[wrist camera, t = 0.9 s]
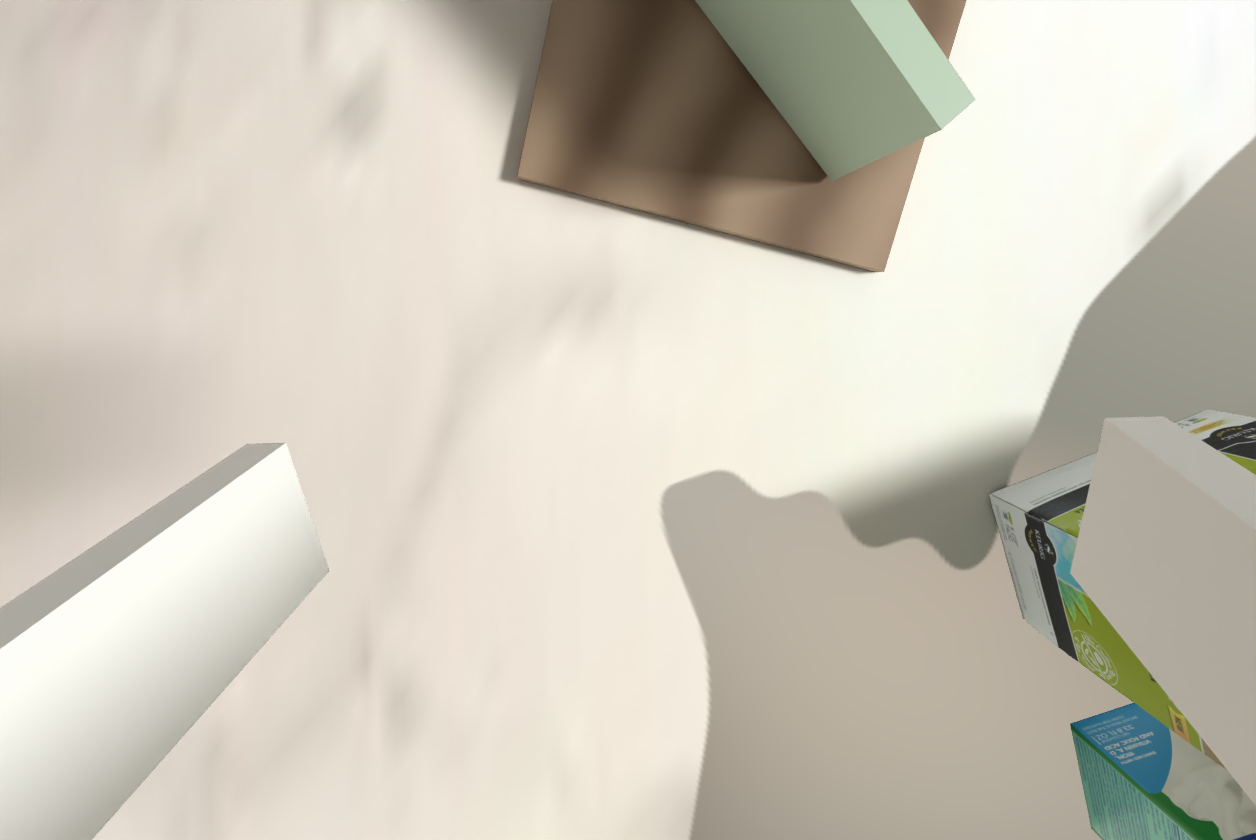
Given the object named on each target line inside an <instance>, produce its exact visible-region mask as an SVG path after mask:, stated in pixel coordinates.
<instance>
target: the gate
mask: <svg viewBox="0 0 1256 840" xmlns="http://www.w3.org/2000/svg"><path fill="white" fill-rule="evenodd" d="M695 1H696V3H697V4H698V5H699V7H700V8H701V9H702V10H703V12H704V13H705V14H706V16H707V17H708V18H709V20H710V21H711V22H712V24H713V25H714V26H715V28H716V29H717V30H718V32H719V33H720V34H721V36H722V37H723V38H724V40H725V41H726V42H727V44H728V45H729V46H730V47H731V49H732V50H733V51H734V53H735V54H736V55H737V57H738V58H739V59H740V61H741V62H742V63H743V65H744V66H745V67H746V69H747V70H748V71H749V73H750V74H751V75H752V77H753V78H754V79H755V80H756V82H757V83H758V84H759V86H760V87H761V88H762V90H763V91H764V92H765V94H766V95H767V96H768V98H769V99H770V100H771V102H772V103H773V104H774V106H775V107H776V108H777V110H778V111H779V112H780V114H781V115H782V116H783V117H784V119H785V120H786V121H787V123H788V124H789V125H790V127H791V128H792V129H793V131H794V132H795V133H796V135H797V136H798V137H799V139H800V140H801V141H802V143H803V144H804V145H805V147H806V148H807V149H808V150H809V152H810V153H811V154H812V156H813V157H814V158H815V160H816V161H817V162H818V164H819V165H820V166H821V168H822V169H823V170H824V172H825V173H826V174H827V176H828V177H829V178H830V180H831V181H833V180H836V179H838V178H840V177H842V176H844V175H846V174H848V173H850V172H852V171H855V170H857V169H859V168H861V167H863V166H865V165H867V164H869V163H872V162H874V161H876V160H878V159H880V158H882V157H884V156H886V155H889V154H891V153H893V152H895V151H897V150H899V149H901V148H903V147H905V146H908V145H910V144H912V143H914V142H916V141H918V140H920V139H922V138H925V137H927V136H929V135H931V134H933V133H935V132H937V131H939V130H941V129H943V128H944V127H945V126H946V125H947V124H948V123H949V122H951V121H952V120H953V119H954V118H955V117H956V116H957V115H958V114H960V113H961V112H962V111H963V110H964V109H965V108H966V107H968V106H969V105H970V104H971V103H972V102H973V101H974V100H975V98H974V97H973V95H972V94H971V92H970V91H969V89H968V88H967V87H966V85H965V84H964V82H963V81H962V79H961V78H960V76H959V75H958V73H957V72H956V71H955V69H954V68H953V66H952V65H951V63H950V62H949V60H948V59H947V57H946V56H945V54H944V53H943V52H942V50H941V49H940V47H939V46H938V44H937V43H936V41H935V40H934V38H933V37H932V36H931V34H930V33H929V31H928V30H927V28H926V27H925V25H924V24H923V22H922V21H921V20H920V18H919V17H918V15H917V14H916V12H915V11H914V9H913V8H912V6H911V5H910V3H909V2H908V1H907V0H695Z"/></svg>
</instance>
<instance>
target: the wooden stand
mask: <svg viewBox="0 0 1256 840" xmlns="http://www.w3.org/2000/svg"><path fill="white" fill-rule="evenodd" d="M907 1H908V2H909V3H910V5H911V6H912V8H913V9H914V11H915V12H916V14H917V15H918V17H919V18H920V20H921V21H922V22H923V24H924V25H925V27H926V28H927V30H928V31H929V33H930V34H931V36H932V37H933V38H934V40H935V41H936V43H937V44H938V46H939V47H940V49H941V50H942V52H943V53H944V54H945V56H946V57H947V59H949V56H950V53H951V49H952V46H953V43H954V39H955V36H956V33H957V29H958V26H959V23H960V20H961V16H962V13H963V10H964V6H965V3H966V0H907ZM923 142H924V138H922V139H920V140H918V141H916V142H914V143H912V144H910V145H908V146H905V147H903V148H901V149H899V150H897V151H895V152H893V153H891V154H889V155H886V156H884V157H882V158H880V159H878V160H876V161H874V162H872V163H869V164H867V165H865V166H863V167H861V168H859V169H857V170H855V171H852V172H850V173H848V174H846V175H844V176H842V177H840V178H838V179H836V180H833V181H831V180H830V178H829V177H828V176H827V174H826V173H825V172H824V170H823V169H822V168H821V166H820V165H819V164H818V162H817V161H816V160H815V158H814V157H813V156H812V154H811V153H810V152H809V150H808V149H807V148H806V147H805V145H804V144H803V143H802V141H801V140H800V139H799V137H798V136H797V135H796V133H795V132H794V131H793V129H792V128H791V127H790V125H789V124H788V123H787V121H786V120H785V119H784V117H783V116H782V115H781V114H780V112H779V111H778V110H777V108H776V107H775V106H774V104H773V103H772V102H771V100H770V99H769V98H768V96H767V95H766V94H765V92H764V91H763V90H762V88H761V87H760V86H759V84H758V83H757V82H756V80H755V79H754V78H753V77H752V75H751V74H750V73H749V71H748V70H747V69H746V67H745V66H744V65H743V63H742V62H741V61H740V59H739V58H738V57H737V55H736V54H735V53H734V51H733V50H732V49H731V47H730V46H729V45H728V44H727V42H726V41H725V40H724V38H723V37H722V36H721V34H720V33H719V32H718V30H717V29H716V28H715V26H714V25H713V24H712V22H711V21H710V20H709V18H708V17H707V16H706V14H705V13H704V12H703V10H702V9H701V8H700V7H699V5H698V4H697V3H696V1H695V0H553V2H552V7H551V12H550V17H549V22H548V27H547V32H546V37H545V42H544V47H543V52H542V57H541V62H540V67H539V72H538V77H537V82H536V87H535V92H534V97H533V102H532V107H531V112H530V116H529V121H528V126H527V131H526V136H525V141H524V146H523V151H522V156H521V161H520V166H519V171H518V177H519V179H521V180H525V181H529V182H533V183H536V184H540V185H544V186H548V187H552V188H556V189H559V190H563V191H567V192H571V193H575V194H579V195H582V196H586V197H590V198H594V199H598V200H602V201H605V202H609V203H613V204H617V205H621V206H625V207H628V208H632V209H636V210H640V211H644V212H648V213H651V214H655V215H659V216H663V217H667V218H671V219H674V220H678V221H682V222H686V223H690V224H694V225H697V226H701V227H705V228H709V229H713V230H717V231H720V232H724V233H728V234H732V235H736V236H740V237H743V238H747V239H751V240H755V241H759V242H763V243H766V244H770V245H774V246H778V247H782V248H786V249H789V250H793V251H797V252H801V253H805V254H809V255H812V256H816V257H820V258H824V259H828V260H832V261H835V262H839V263H843V264H847V265H851V266H855V267H858V268H862V269H866V270H870V271H874V272H884V270H885V267H886V263H887V260H888V257H889V254H890V250H891V247H892V244H893V240H894V237H895V234H896V231H897V227H898V224H899V221H900V217H901V214H902V211H903V207H904V204H905V201H906V198H907V194H908V191H909V188H910V184H911V181H912V178H913V174H914V171H915V168H916V165H917V161H918V158H919V155H920V151H921V148H922V145H923Z"/></svg>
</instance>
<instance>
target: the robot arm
mask: <svg viewBox="0 0 1256 840" xmlns="http://www.w3.org/2000/svg"><path fill="white" fill-rule="evenodd" d="M328 572H329V568H328V565H327V562H326V560H325V557H324V554H323V551H322V548H321V545H320V542H319V539H318V536H317V533H316V530H315V527H314V524H313V521H312V518H311V515H310V512H309V509H308V506H307V503H306V501H305V498H304V495H303V492H302V489H301V486H300V483H299V480H298V477H297V474H296V471H295V468H294V465H293V462H292V459H291V456H290V453H289V450H288V447H287V444H286V443H263V444H246V445H245V446H243V447H242V448H240V449H239V450H237V451H236V452H234V453H233V454H231V455H230V456H228V457H227V458H225V459H224V460H222V461H221V462H219V463H218V464H216V465H215V466H213V467H212V468H210V469H209V470H207V471H206V472H204V473H203V474H201V475H200V476H198V477H197V478H195V479H194V480H192V481H191V482H189V483H188V484H186V485H185V486H183V487H182V488H180V489H179V490H177V491H176V492H174V493H173V494H171V495H170V496H168V497H167V498H165V499H164V500H162V501H161V502H159V503H158V504H156V505H155V506H153V507H152V508H150V509H148V510H147V511H145V512H144V513H142V514H141V515H139V516H138V517H136V518H135V519H133V520H132V521H130V522H129V523H127V524H126V525H124V526H123V527H121V528H120V529H118V530H117V531H115V532H114V533H112V534H111V535H109V536H108V537H106V538H105V539H103V540H102V541H100V542H99V543H97V544H96V545H94V546H93V547H91V548H90V549H88V550H87V551H85V552H84V553H82V554H81V555H79V556H78V557H76V558H75V559H73V560H72V561H70V562H69V563H67V564H66V565H64V566H63V567H61V568H60V569H58V570H57V571H55V572H54V573H52V574H51V575H49V576H48V577H46V578H45V579H43V580H42V581H40V582H39V583H37V584H36V585H34V586H33V587H31V588H30V589H28V590H27V591H25V592H24V593H22V594H21V595H19V596H18V597H16V598H15V599H13V600H12V601H10V602H9V603H7V604H6V605H4V606H3V607H1V608H0V840H92V839H93V838H94V837H95V835H96V834H97V833H98V832H99V831H100V830H101V829H102V828H103V826H104V825H105V824H106V823H107V822H108V821H109V820H110V818H111V817H112V816H113V815H114V814H115V813H116V812H117V811H118V809H119V808H120V807H121V806H122V805H123V804H124V803H125V801H126V800H127V799H128V798H129V797H130V796H131V795H132V794H133V792H134V791H135V790H136V789H137V788H138V787H139V786H140V784H141V783H142V782H143V781H144V780H145V779H146V778H147V777H148V775H149V774H150V773H151V772H152V771H153V770H154V769H155V767H156V766H157V765H158V764H159V763H160V762H161V761H162V760H163V758H164V757H165V756H166V755H167V754H168V753H169V752H170V751H171V749H172V748H173V747H174V746H175V745H176V744H177V743H178V741H179V740H180V739H181V738H182V737H183V736H184V735H185V734H186V732H187V731H188V730H189V729H190V728H191V727H192V726H193V724H194V723H195V722H196V721H197V720H198V719H199V718H200V717H201V715H202V714H203V713H204V712H205V711H206V710H207V709H208V707H209V706H210V705H211V704H212V703H213V702H214V701H215V700H216V698H217V697H218V696H219V695H220V694H221V693H222V692H223V691H224V689H225V688H226V687H227V686H228V685H229V684H230V683H231V681H232V680H233V679H234V678H235V677H236V676H237V675H238V674H239V672H240V671H241V670H242V669H243V668H244V667H245V666H246V664H247V663H248V662H249V661H250V660H251V659H252V658H253V657H254V655H255V654H256V653H257V652H258V651H259V650H260V649H261V647H262V646H263V645H264V644H265V643H266V642H267V641H268V640H269V638H270V637H271V636H272V635H273V634H274V633H275V632H276V630H277V629H278V628H279V627H280V626H281V625H282V624H283V623H284V621H285V620H286V619H287V618H288V617H289V616H290V615H291V614H292V612H293V611H294V610H295V609H296V608H297V607H298V606H299V604H300V603H301V602H302V601H303V600H304V599H305V598H306V597H307V595H308V594H309V593H310V592H311V591H312V590H313V589H314V587H315V586H316V585H317V584H318V583H319V582H320V581H321V580H322V578H323V577H324V576H325V575H326V574H327V573H328ZM1070 574H1071V575H1072V576H1073V577H1074V579H1075V580H1076V581H1077V582H1078V584H1079V585H1080V586H1081V587H1082V589H1083V590H1084V591H1085V592H1086V594H1087V595H1088V596H1089V597H1090V599H1091V600H1092V601H1093V602H1094V604H1095V605H1096V606H1097V607H1098V609H1099V610H1100V611H1101V612H1102V614H1103V615H1104V616H1105V617H1106V619H1107V620H1108V621H1109V622H1110V624H1111V625H1112V626H1113V627H1114V629H1115V630H1116V631H1117V632H1118V634H1119V635H1120V636H1121V637H1122V639H1123V640H1124V641H1125V643H1126V644H1127V645H1128V646H1129V648H1130V649H1131V650H1132V651H1133V653H1134V654H1135V655H1136V656H1137V658H1138V659H1139V660H1140V661H1141V663H1142V664H1143V665H1144V666H1145V668H1146V669H1147V670H1148V671H1149V673H1150V674H1151V675H1152V676H1153V678H1154V679H1155V680H1156V681H1157V683H1158V684H1159V685H1160V686H1161V688H1162V689H1163V690H1164V691H1165V693H1166V694H1167V695H1168V696H1169V698H1170V699H1171V700H1172V701H1173V703H1174V704H1175V705H1176V706H1177V708H1178V709H1179V710H1180V711H1181V713H1182V714H1183V715H1184V716H1185V718H1186V719H1187V720H1188V721H1189V723H1190V724H1191V725H1192V726H1193V728H1194V729H1195V730H1196V731H1197V733H1198V734H1199V735H1200V737H1201V738H1202V739H1203V740H1204V742H1205V743H1206V744H1207V745H1208V747H1209V748H1210V749H1211V750H1212V752H1213V753H1214V754H1215V755H1216V757H1217V758H1218V759H1219V760H1220V762H1221V763H1222V764H1223V765H1224V767H1225V768H1226V769H1227V770H1228V772H1229V773H1230V774H1231V775H1232V777H1233V778H1234V779H1235V780H1236V782H1237V783H1238V784H1239V785H1240V787H1241V788H1242V789H1243V790H1244V792H1245V793H1246V794H1247V795H1248V797H1249V798H1250V799H1251V800H1252V802H1253V803H1254V804H1255V805H1256V475H1255V474H1253V473H1252V472H1250V471H1249V470H1247V469H1246V468H1244V467H1242V466H1241V465H1239V464H1238V463H1236V462H1235V461H1233V460H1231V459H1230V458H1228V457H1227V456H1225V455H1224V454H1222V453H1220V452H1219V451H1217V450H1216V449H1214V448H1213V447H1211V446H1210V445H1208V444H1206V443H1205V442H1203V441H1202V440H1200V439H1199V438H1197V437H1195V436H1194V435H1192V434H1191V433H1189V432H1188V431H1186V430H1184V429H1183V428H1181V427H1180V426H1178V425H1177V424H1175V423H1174V422H1172V421H1170V420H1169V419H1167V418H1166V417H1164V416H1153V417H1121V418H1120V417H1119V418H1105V419H1104V424H1103V428H1102V433H1101V437H1100V442H1099V446H1098V451H1097V455H1096V460H1095V464H1094V469H1093V473H1092V477H1091V482H1090V486H1089V491H1088V495H1087V500H1086V504H1085V509H1084V513H1083V518H1082V522H1081V527H1080V531H1079V536H1078V540H1077V545H1076V549H1075V554H1074V558H1073V562H1072V567H1071V571H1070Z"/></svg>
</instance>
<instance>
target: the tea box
mask: <svg viewBox="0 0 1256 840" xmlns="http://www.w3.org/2000/svg"><path fill="white" fill-rule="evenodd" d="M1174 423H1175V424H1177V425H1178V426H1180V427H1181V428H1183V429H1184V430H1186V431H1188V432H1189V433H1191V434H1192V435H1194V436H1195V437H1197V438H1199V439H1200V440H1202V441H1203V442H1205V443H1206V444H1208V445H1210V446H1211V447H1213V448H1214V449H1216V450H1217V451H1219V452H1220V453H1222V454H1224V455H1225V456H1227V457H1228V458H1230V459H1231V460H1233V461H1235V462H1236V463H1238V464H1239V465H1241V466H1242V467H1244V468H1246V469H1247V470H1249V471H1250V472H1252V473H1253V474H1255V475H1256V418H1252V417H1248V416H1242V415H1236V414H1231V413H1223V412H1217V411H1212V410H1205V411H1202V412H1200V413H1197V414H1194V415H1192V416H1189V417H1187V418H1184V419H1182V420H1179V421H1177V422H1174ZM1096 455H1097V452H1096V453H1093V454H1091V455H1088V456H1086V457H1083V458H1081V459H1078V460H1075V461H1073V462H1070V463H1067V464H1065V465H1062V466H1060V467H1057V468H1054V469H1052V470H1049V471H1047V472H1044V473H1042V474H1039V475H1036V476H1034V477H1031V478H1029V479H1026V480H1024V481H1021V482H1018V483H1016V484H1013V485H1011V486H1008V487H1005V488H1003V489H1000V490H997V491H995V492H993V493H990V495H989V497H990V500H991V504H992V509H993V512H994V515H995V518H996V522H997V525H998V529H999V532H1000V536H1001V540H1002V543H1003V547H1004V551H1005V555H1006V559H1007V562H1008V566H1009V569H1010V572H1011V576H1012V580H1013V583H1014V587H1015V591H1016V595H1017V599H1018V602H1019V606H1020V609H1021V612H1022V616H1023V619H1025V620H1026V622H1027V623H1028V624H1030V625H1031V626H1032V627H1033V628H1035V629H1036V630H1037V631H1038V632H1040V633H1041V634H1042V635H1044V636H1045V637H1046V638H1047V639H1049V640H1050V641H1052V642H1053V643H1054V644H1055V645H1056V646H1058V647H1059V648H1061V649H1062V650H1063V651H1065V652H1066V653H1067V654H1068V655H1069V656H1071V657H1072V658H1074V659H1075V660H1077V661H1078V662H1080V663H1081V664H1082V665H1083V666H1085V667H1086V668H1087V669H1089V670H1090V671H1092V672H1093V673H1094V674H1096V675H1097V676H1098V677H1100V678H1101V679H1102V680H1104V681H1105V682H1106V683H1108V684H1109V685H1111V686H1112V687H1113V688H1115V689H1116V690H1118V691H1119V692H1120V693H1122V694H1123V695H1125V696H1126V697H1127V698H1129V699H1130V700H1131V701H1133V702H1134V703H1136V704H1137V705H1138V706H1140V707H1141V708H1142V709H1144V710H1145V711H1146V712H1148V713H1149V714H1150V715H1152V716H1153V717H1154V718H1156V719H1157V720H1158V721H1160V722H1161V723H1163V724H1164V725H1165V726H1167V727H1168V728H1169V729H1171V730H1172V731H1173V732H1175V733H1176V734H1177V735H1179V736H1180V737H1182V738H1183V739H1184V740H1186V741H1187V742H1188V743H1190V744H1191V745H1193V746H1194V747H1195V748H1197V749H1198V750H1200V751H1201V752H1202V753H1204V754H1205V755H1206V756H1208V757H1209V758H1211V759H1212V760H1213V761H1215V762H1216V763H1218V764H1219V765H1220V766H1222V767H1223V768H1225V767H1224V765H1223V764H1222V763H1221V762H1220V760H1219V759H1218V758H1217V757H1216V755H1215V754H1214V753H1213V752H1212V750H1211V749H1210V748H1209V747H1208V745H1207V744H1206V743H1205V742H1204V740H1203V739H1202V738H1201V737H1200V735H1199V734H1198V733H1197V731H1196V730H1195V729H1194V728H1193V726H1192V725H1191V724H1190V723H1189V721H1188V720H1187V719H1186V718H1185V716H1184V715H1183V714H1182V713H1181V711H1180V710H1179V709H1178V708H1177V706H1176V705H1175V704H1174V703H1173V701H1172V700H1171V699H1170V698H1169V696H1168V695H1167V694H1166V693H1165V691H1164V690H1163V689H1162V688H1161V686H1160V685H1159V684H1158V683H1157V681H1156V680H1155V679H1154V678H1153V676H1152V675H1151V674H1150V673H1149V671H1148V670H1147V669H1146V668H1145V666H1144V665H1143V664H1142V663H1141V661H1140V660H1139V659H1138V658H1137V656H1136V655H1135V654H1134V653H1133V651H1132V650H1131V649H1130V648H1129V646H1128V645H1127V644H1126V643H1125V641H1124V640H1123V639H1122V637H1121V636H1120V635H1119V634H1118V632H1117V631H1116V630H1115V629H1114V627H1113V626H1112V625H1111V624H1110V622H1109V621H1108V620H1107V619H1106V617H1105V616H1104V615H1103V614H1102V612H1101V611H1100V610H1099V609H1098V607H1097V606H1096V605H1095V604H1094V602H1093V601H1092V600H1091V599H1090V597H1089V596H1088V595H1087V594H1086V592H1085V591H1084V590H1083V589H1082V587H1081V586H1080V585H1079V584H1078V582H1077V581H1076V580H1075V579H1074V577H1073V576H1072V575H1071V574H1070V571H1071V567H1072V562H1073V558H1074V554H1075V549H1076V545H1077V540H1078V536H1079V531H1080V527H1081V522H1082V518H1083V513H1084V509H1085V504H1086V500H1087V495H1088V491H1089V486H1090V482H1091V477H1092V473H1093V469H1094V464H1095V460H1096ZM1225 769H1226V768H1225ZM1226 770H1227V769H1226ZM1227 771H1228V770H1227Z"/></svg>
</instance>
